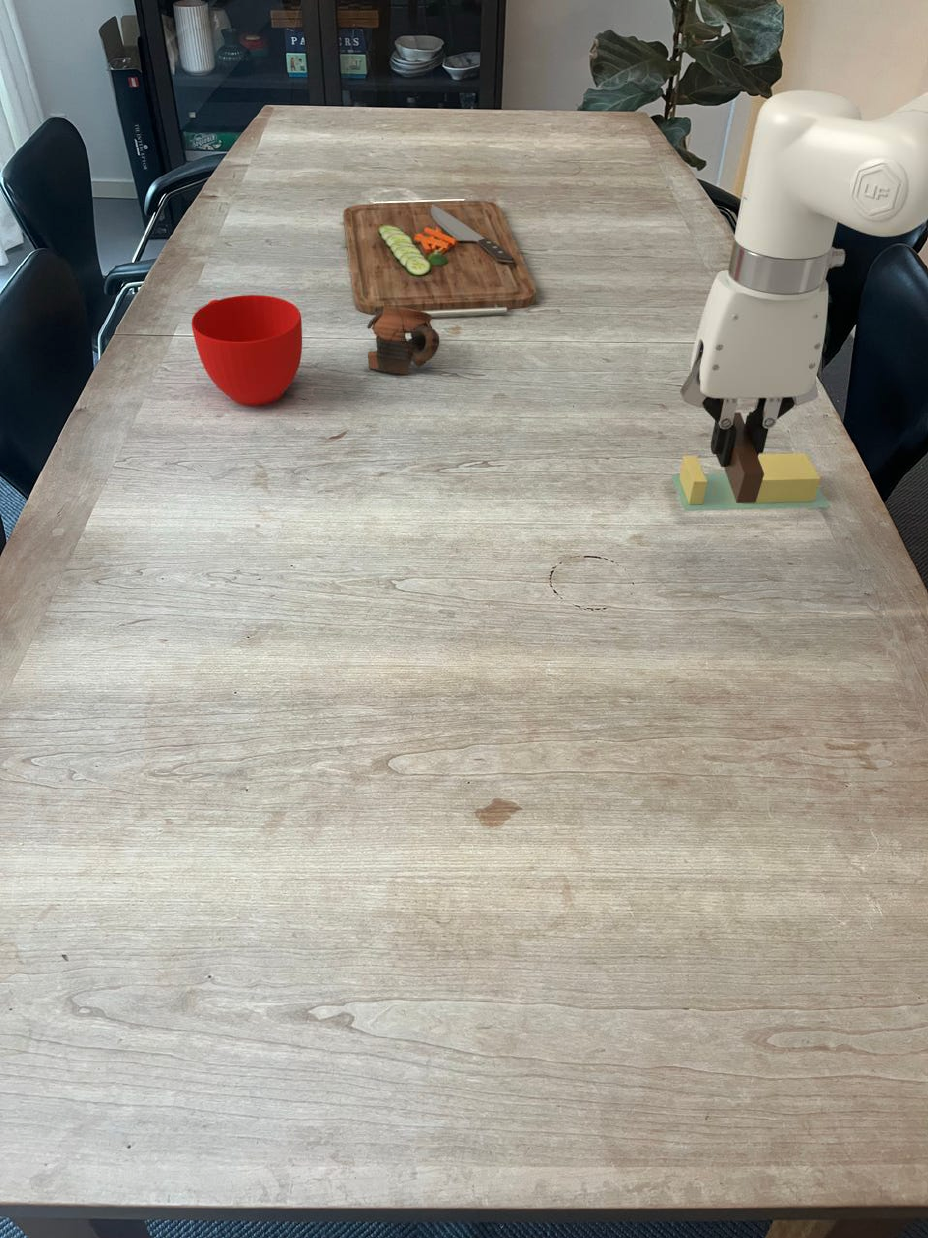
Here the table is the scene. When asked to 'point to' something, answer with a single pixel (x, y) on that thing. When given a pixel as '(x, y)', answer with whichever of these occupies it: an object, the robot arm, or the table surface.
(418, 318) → the pottery mug
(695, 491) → the butter slice
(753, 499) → the knife
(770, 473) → the butter block
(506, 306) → the chopping board
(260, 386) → the ceramic cup
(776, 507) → the butter dish
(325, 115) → the table surface
